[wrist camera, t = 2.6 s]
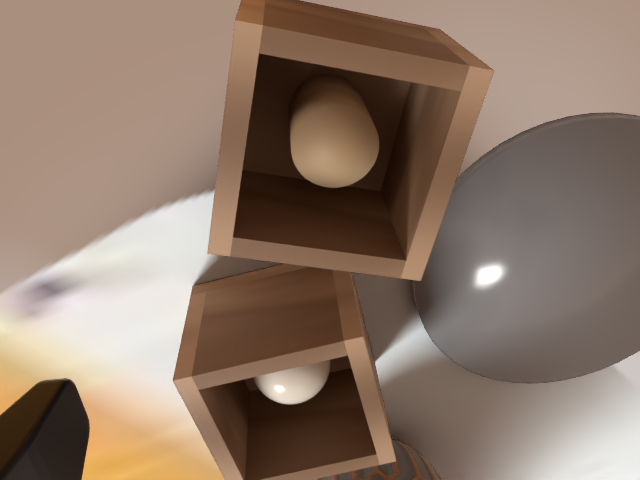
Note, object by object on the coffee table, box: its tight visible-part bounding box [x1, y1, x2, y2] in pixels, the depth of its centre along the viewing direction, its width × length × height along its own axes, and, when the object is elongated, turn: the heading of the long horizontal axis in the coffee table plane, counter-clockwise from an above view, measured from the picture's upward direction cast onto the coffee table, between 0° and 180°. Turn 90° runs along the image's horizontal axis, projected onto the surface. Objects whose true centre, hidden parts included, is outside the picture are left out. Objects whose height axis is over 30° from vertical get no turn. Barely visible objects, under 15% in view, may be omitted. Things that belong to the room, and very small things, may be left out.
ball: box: [252, 360, 330, 404], centre depth 21 cm, size 3×3×3 cm
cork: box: [289, 74, 379, 188], centre depth 17 cm, size 2×2×3 cm
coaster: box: [412, 113, 640, 383], centre depth 22 cm, size 12×12×1 cm
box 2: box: [173, 264, 396, 480], centre depth 21 cm, size 6×6×5 cm
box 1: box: [207, 0, 494, 281], centre depth 16 cm, size 6×6×5 cm
